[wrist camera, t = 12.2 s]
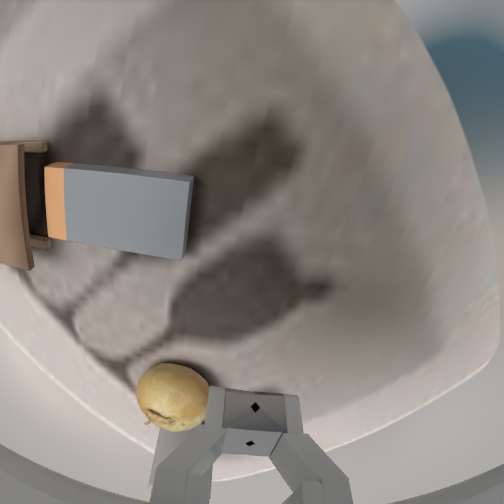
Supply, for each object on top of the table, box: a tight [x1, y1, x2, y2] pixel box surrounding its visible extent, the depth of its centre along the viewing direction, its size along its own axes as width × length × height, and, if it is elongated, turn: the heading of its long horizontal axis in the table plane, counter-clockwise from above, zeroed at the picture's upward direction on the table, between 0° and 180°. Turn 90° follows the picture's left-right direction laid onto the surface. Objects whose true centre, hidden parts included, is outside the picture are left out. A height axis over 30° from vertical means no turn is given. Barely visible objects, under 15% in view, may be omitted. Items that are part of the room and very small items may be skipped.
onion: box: [137, 363, 210, 432], centre depth 28 cm, size 8×8×7 cm
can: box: [148, 423, 213, 499], centre depth 31 cm, size 8×8×12 cm
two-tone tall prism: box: [44, 162, 194, 261], centre depth 22 cm, size 12×6×2 cm, turn 80°
